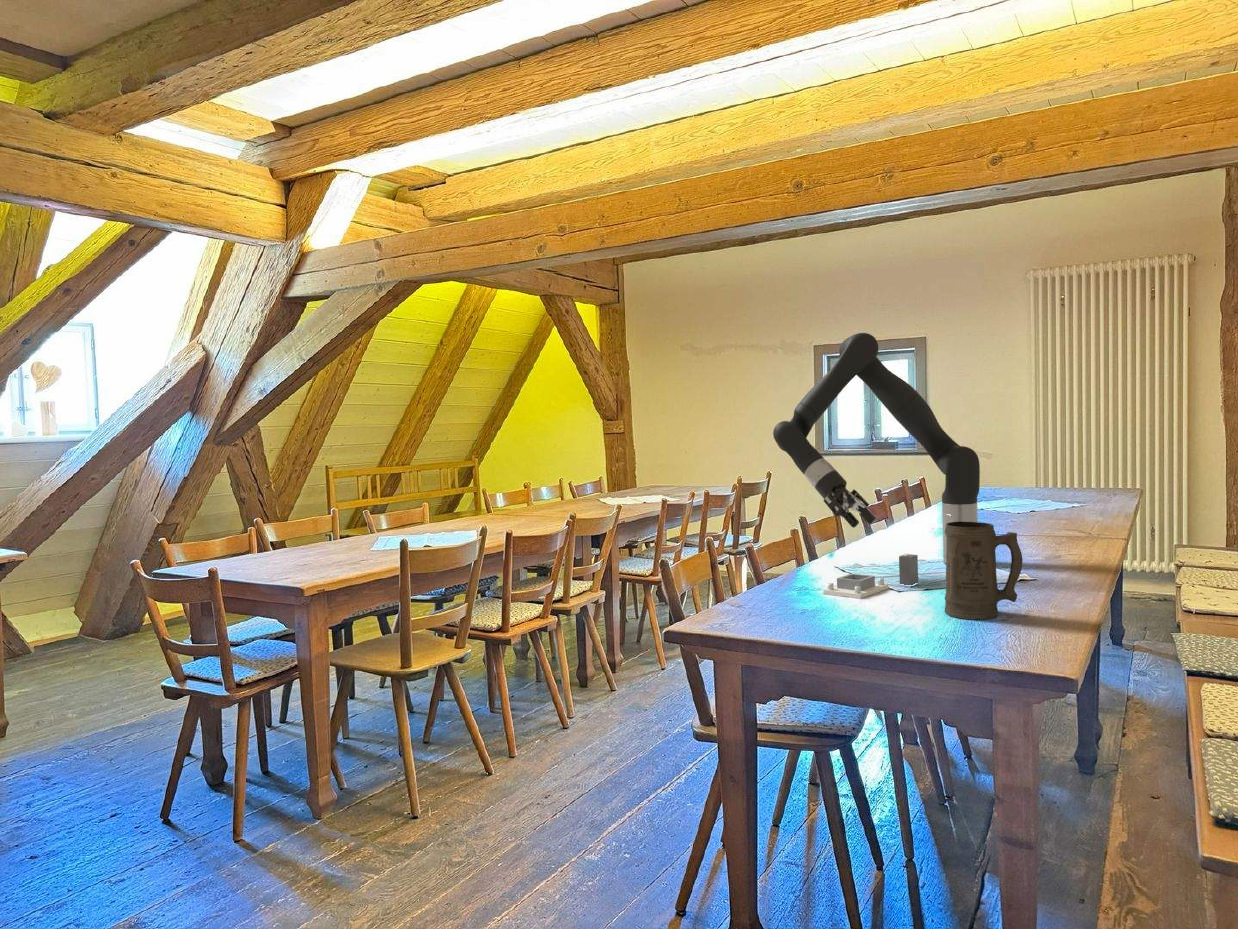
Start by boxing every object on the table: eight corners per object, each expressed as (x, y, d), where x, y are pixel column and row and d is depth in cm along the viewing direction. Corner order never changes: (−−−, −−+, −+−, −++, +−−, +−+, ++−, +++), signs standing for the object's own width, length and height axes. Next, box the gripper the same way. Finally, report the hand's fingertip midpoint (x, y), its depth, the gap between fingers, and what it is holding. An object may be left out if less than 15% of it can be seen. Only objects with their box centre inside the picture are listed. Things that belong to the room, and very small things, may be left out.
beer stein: (944, 619, 177) (949, 525, 176) (937, 607, 188) (942, 518, 186) (1023, 625, 174) (1028, 529, 172) (1012, 612, 184) (1017, 522, 183)
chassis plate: (852, 584, 217) (852, 570, 217) (888, 588, 210) (888, 574, 210) (823, 593, 207) (822, 579, 207) (860, 598, 200) (859, 584, 200)
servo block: (907, 583, 215) (906, 552, 215) (918, 584, 213) (917, 553, 213) (899, 585, 212) (898, 554, 212) (911, 587, 210) (910, 555, 210)
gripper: (819, 471, 221) (860, 517, 213) (847, 467, 231) (887, 511, 223) (802, 490, 225) (841, 536, 217) (830, 486, 235) (869, 529, 227)
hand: (864, 523), depth 220 cm, fingers open, 8 cm apart
